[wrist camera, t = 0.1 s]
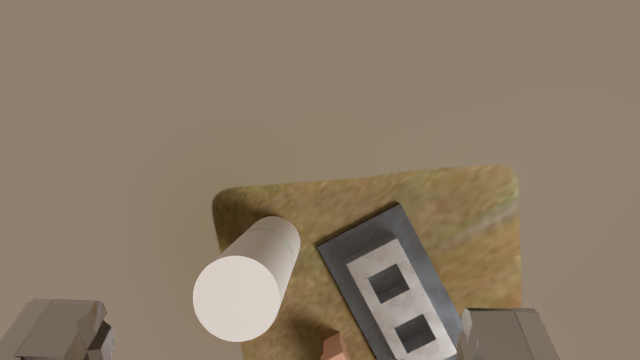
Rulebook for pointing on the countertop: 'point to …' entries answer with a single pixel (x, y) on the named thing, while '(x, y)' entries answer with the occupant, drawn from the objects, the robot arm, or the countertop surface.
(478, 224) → the countertop surface
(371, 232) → the grey slotted holder
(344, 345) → the clip
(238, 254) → the cylindrical container
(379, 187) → the countertop surface
